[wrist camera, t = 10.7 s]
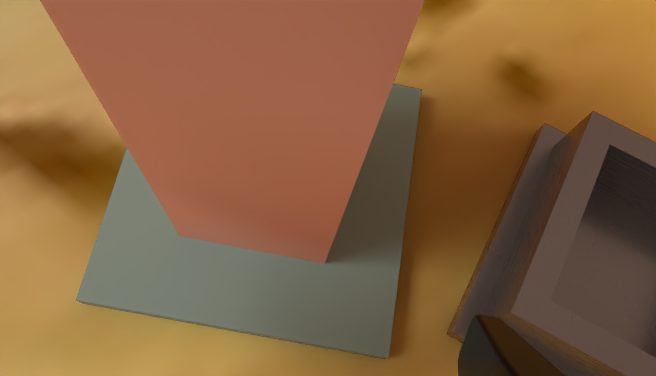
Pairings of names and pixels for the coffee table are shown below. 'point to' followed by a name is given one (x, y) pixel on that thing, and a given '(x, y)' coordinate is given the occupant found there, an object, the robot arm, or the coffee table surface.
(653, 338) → the metal socket
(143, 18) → the terracotta peg
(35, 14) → the coffee table surface
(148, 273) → the green pad
